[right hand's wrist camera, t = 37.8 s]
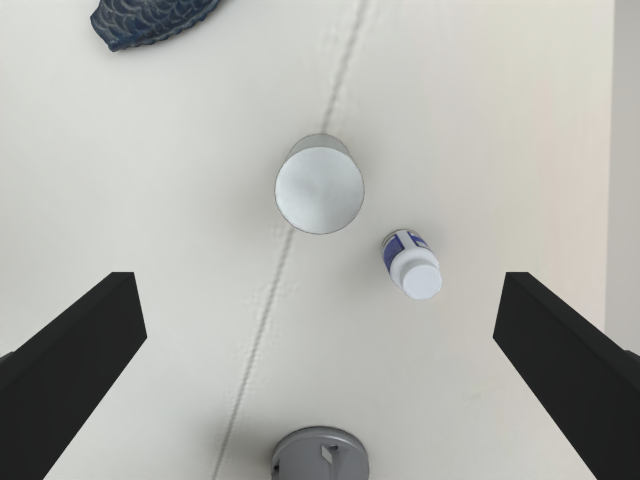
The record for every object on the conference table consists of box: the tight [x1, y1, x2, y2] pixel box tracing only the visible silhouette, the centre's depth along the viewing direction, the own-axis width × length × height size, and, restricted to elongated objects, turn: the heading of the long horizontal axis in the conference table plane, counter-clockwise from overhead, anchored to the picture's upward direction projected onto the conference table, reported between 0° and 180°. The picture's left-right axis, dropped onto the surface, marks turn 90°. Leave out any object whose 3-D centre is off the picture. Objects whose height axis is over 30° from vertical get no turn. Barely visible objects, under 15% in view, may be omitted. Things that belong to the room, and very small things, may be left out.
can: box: [275, 134, 364, 234], centre depth 35 cm, size 7×7×12 cm
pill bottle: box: [382, 230, 442, 300], centre depth 40 cm, size 5×5×9 cm
